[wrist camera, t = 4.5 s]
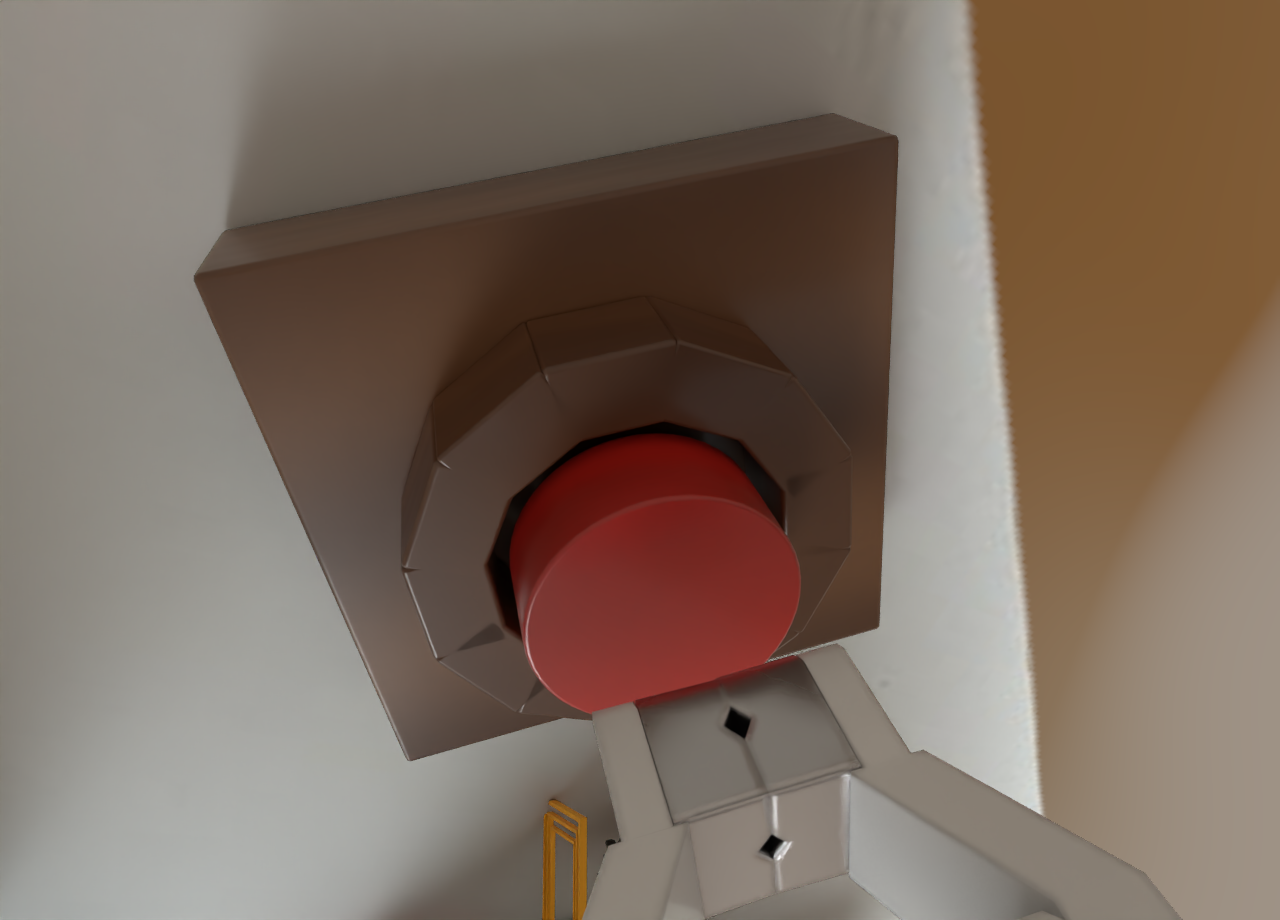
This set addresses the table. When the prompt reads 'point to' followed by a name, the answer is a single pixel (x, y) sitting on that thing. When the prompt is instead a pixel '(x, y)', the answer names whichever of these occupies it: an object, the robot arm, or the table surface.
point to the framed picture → (578, 859)
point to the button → (648, 572)
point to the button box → (567, 382)
